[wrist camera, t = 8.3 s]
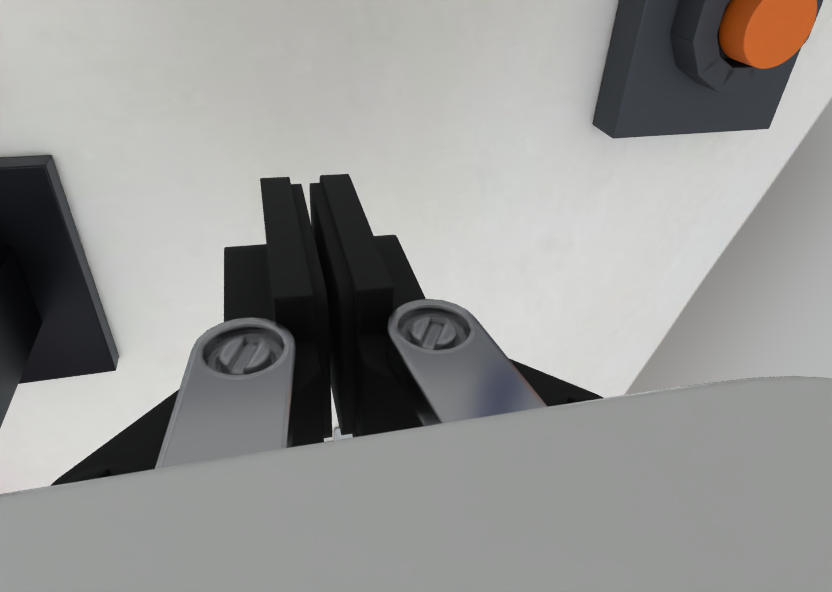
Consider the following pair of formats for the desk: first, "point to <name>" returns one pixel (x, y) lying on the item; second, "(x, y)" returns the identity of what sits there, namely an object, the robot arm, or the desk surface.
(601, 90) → the control block
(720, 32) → the button
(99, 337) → the bracket
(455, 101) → the desk surface
